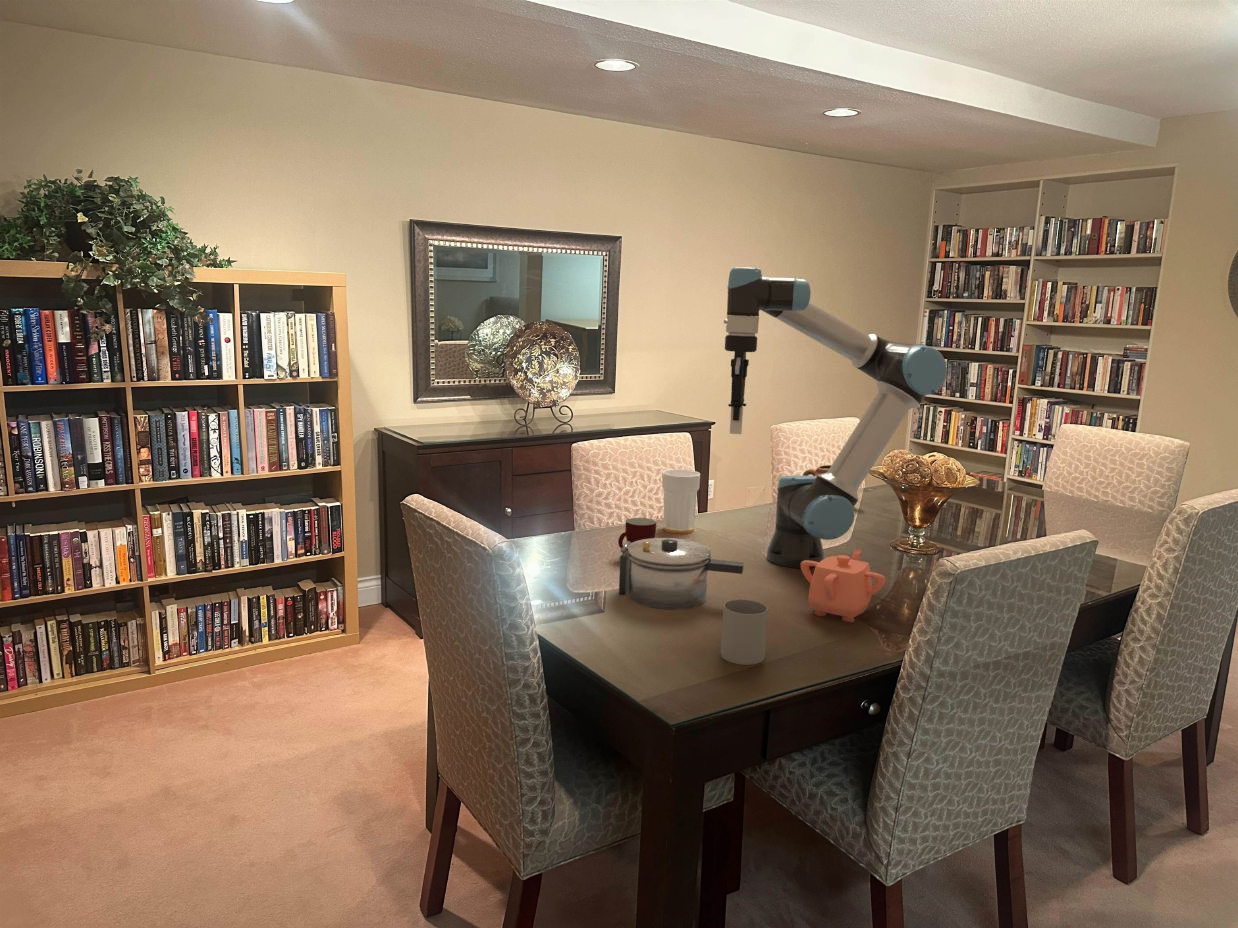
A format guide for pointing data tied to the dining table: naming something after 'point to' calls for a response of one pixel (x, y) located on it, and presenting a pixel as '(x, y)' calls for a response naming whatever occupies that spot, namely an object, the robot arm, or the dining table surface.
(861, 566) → the teapot
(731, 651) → the cup
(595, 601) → the dining table surface
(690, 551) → the lid
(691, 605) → the pot
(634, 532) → the mug
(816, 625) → the dining table surface
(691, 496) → the cup
